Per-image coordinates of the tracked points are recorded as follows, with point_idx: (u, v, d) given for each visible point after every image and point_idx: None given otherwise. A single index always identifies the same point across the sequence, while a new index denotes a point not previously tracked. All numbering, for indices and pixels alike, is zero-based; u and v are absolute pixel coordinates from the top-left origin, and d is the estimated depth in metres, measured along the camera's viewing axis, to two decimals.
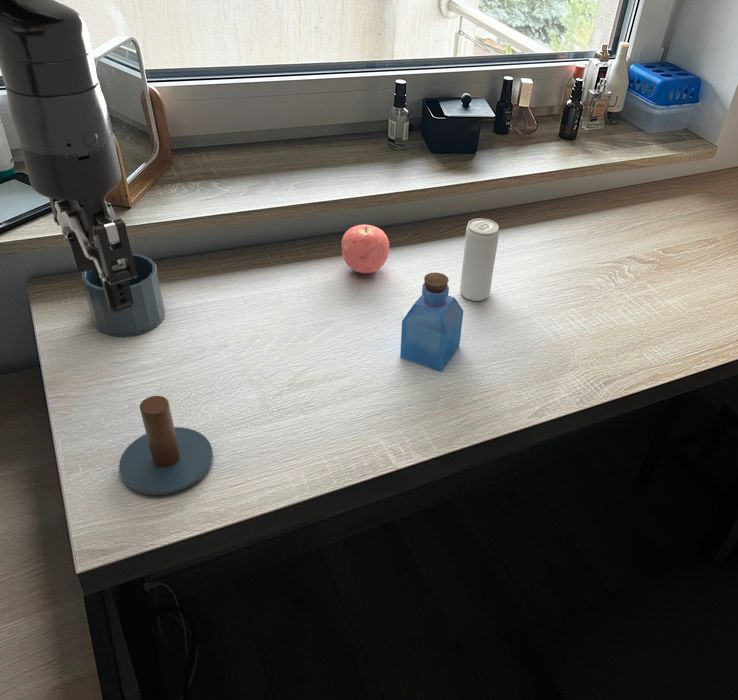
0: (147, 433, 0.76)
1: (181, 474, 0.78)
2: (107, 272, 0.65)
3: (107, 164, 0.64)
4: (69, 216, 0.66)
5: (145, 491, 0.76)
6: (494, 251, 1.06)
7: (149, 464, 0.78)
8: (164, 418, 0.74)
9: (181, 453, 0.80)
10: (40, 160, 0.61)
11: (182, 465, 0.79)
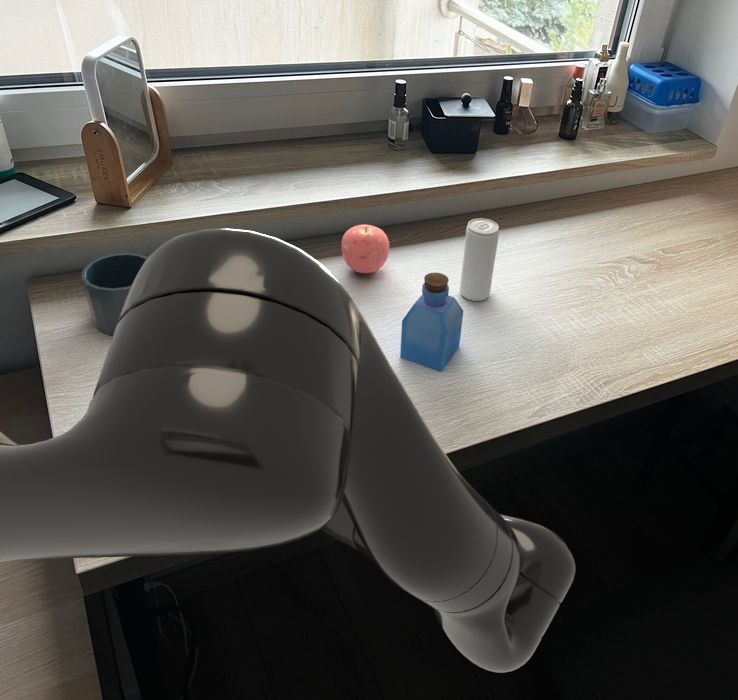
0: None
1: None
2: None
3: None
4: None
5: None
6: (494, 251, 1.06)
7: None
8: None
9: None
10: None
11: None
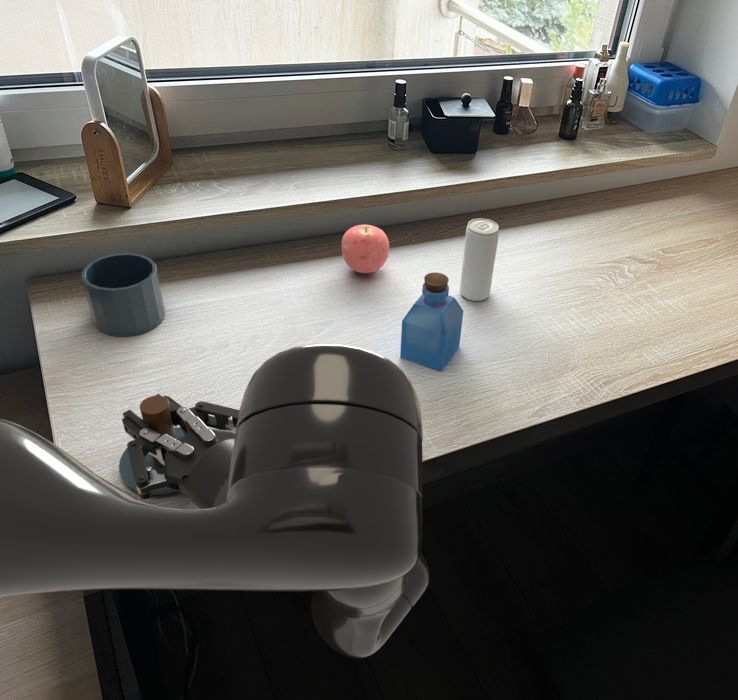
0: None
1: None
2: (130, 451, 0.71)
3: None
4: (183, 455, 0.71)
5: None
6: (494, 251, 1.06)
7: (149, 464, 0.78)
8: (164, 418, 0.74)
9: None
10: (219, 481, 0.67)
11: None
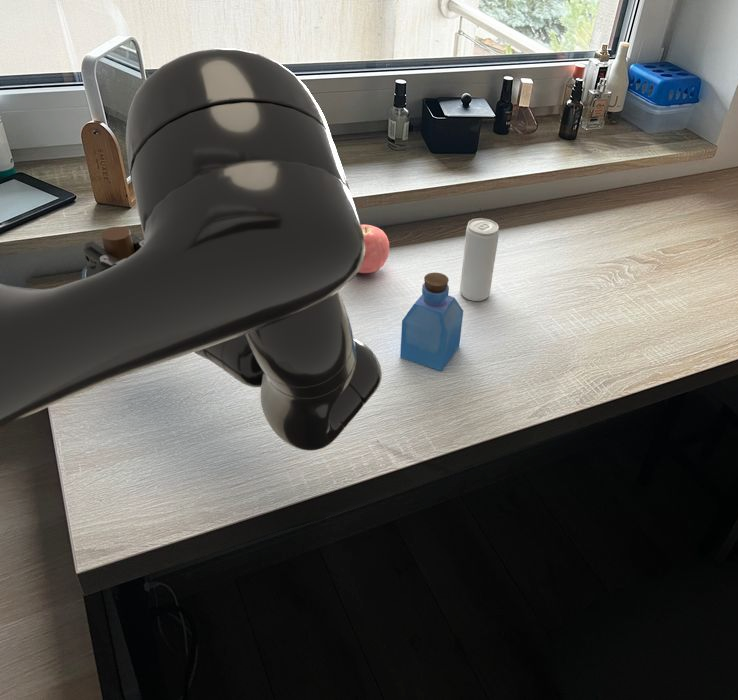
0: None
1: None
2: (89, 271, 0.71)
3: None
4: None
5: None
6: (494, 251, 1.06)
7: None
8: (125, 247, 0.74)
9: None
10: None
11: None
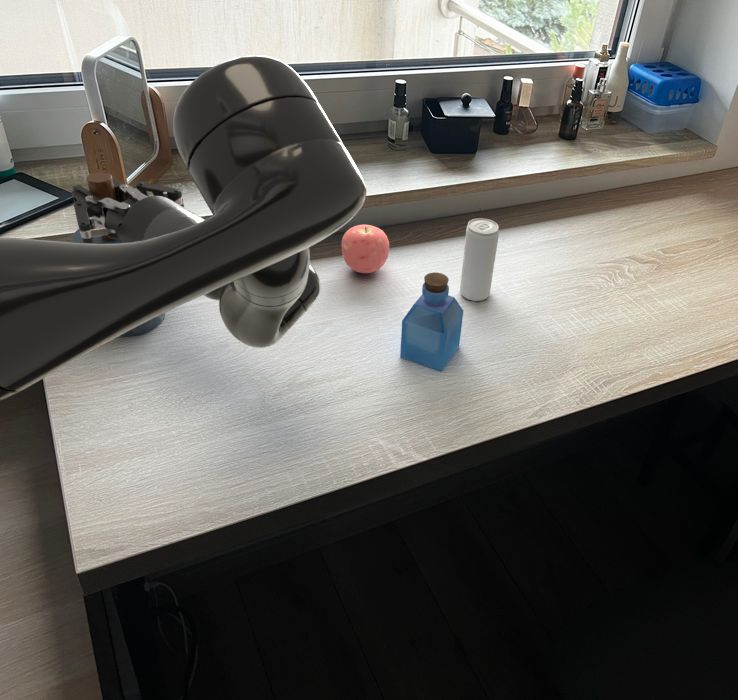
0: None
1: None
2: (76, 207, 0.83)
3: None
4: (121, 209, 0.83)
5: None
6: (494, 251, 1.06)
7: (97, 238, 0.91)
8: (107, 189, 0.87)
9: None
10: (147, 219, 0.79)
11: None
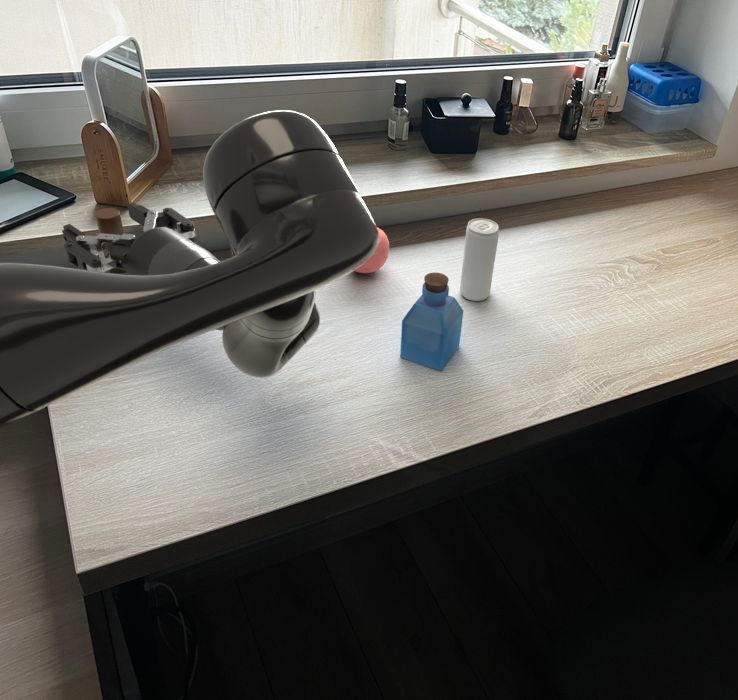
0: None
1: None
2: (71, 248, 0.84)
3: None
4: (128, 240, 0.85)
5: None
6: (494, 251, 1.06)
7: (105, 271, 0.94)
8: (115, 224, 0.90)
9: None
10: (152, 251, 0.82)
11: None
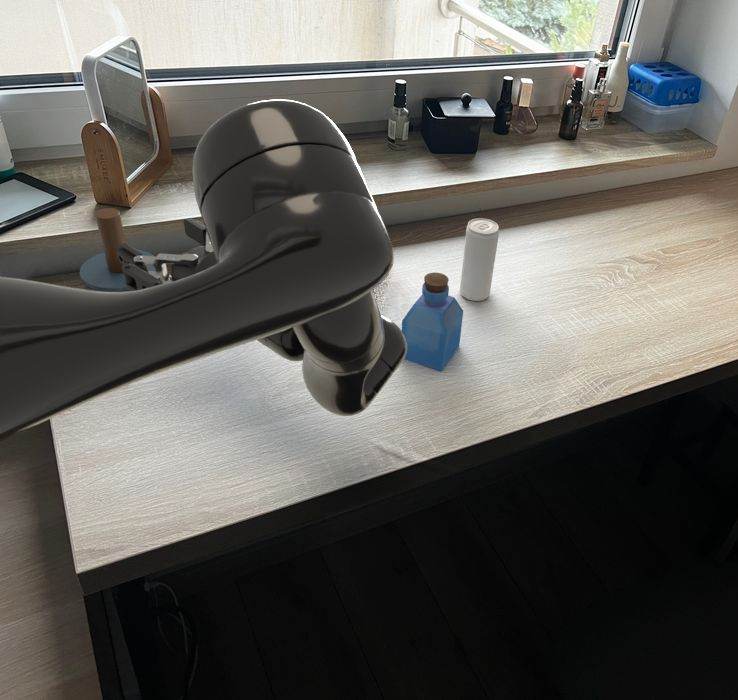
0: (102, 239, 0.91)
1: None
2: (129, 270, 0.77)
3: None
4: (191, 260, 0.78)
5: (100, 287, 0.91)
6: (494, 251, 1.06)
7: (105, 271, 0.94)
8: (115, 224, 0.90)
9: None
10: None
11: None
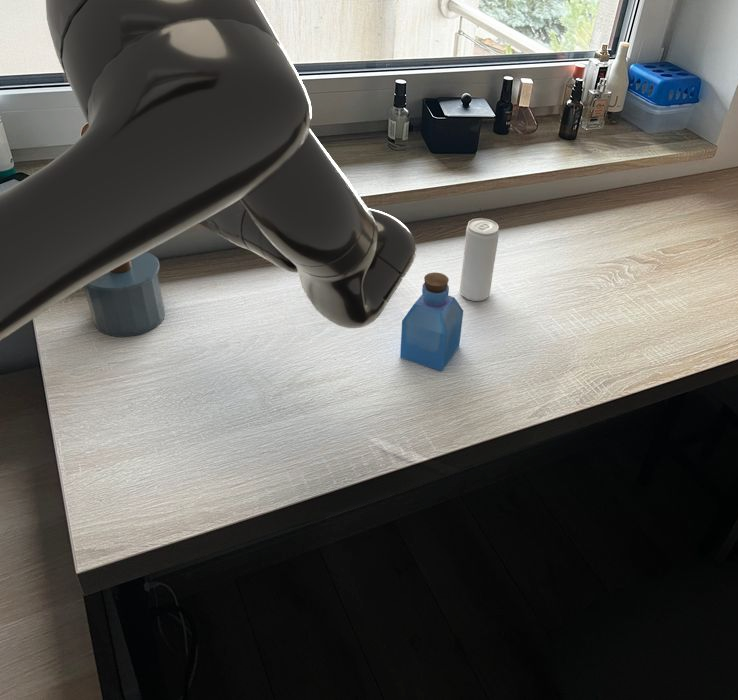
0: None
1: (131, 278, 0.93)
2: None
3: (201, 223, 0.71)
4: None
5: (100, 287, 0.91)
6: (494, 251, 1.06)
7: None
8: None
9: (132, 265, 0.96)
10: None
11: (132, 272, 0.94)
